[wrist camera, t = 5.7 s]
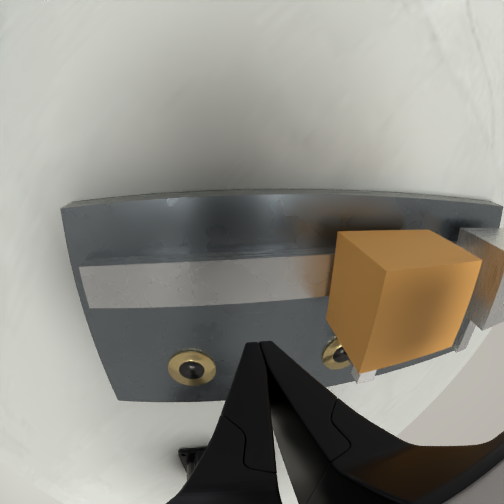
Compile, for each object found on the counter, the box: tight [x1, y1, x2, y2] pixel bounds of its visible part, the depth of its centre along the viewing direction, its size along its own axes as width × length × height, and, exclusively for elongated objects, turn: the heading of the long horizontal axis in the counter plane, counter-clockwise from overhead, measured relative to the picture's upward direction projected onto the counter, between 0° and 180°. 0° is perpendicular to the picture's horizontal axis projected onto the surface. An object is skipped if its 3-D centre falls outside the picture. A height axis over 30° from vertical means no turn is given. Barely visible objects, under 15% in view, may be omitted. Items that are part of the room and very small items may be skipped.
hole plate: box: [61, 189, 504, 402], centre depth 15 cm, size 14×30×7 cm, turn 90°
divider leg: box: [326, 230, 482, 384], centre depth 14 cm, size 10×6×5 cm, turn 0°
